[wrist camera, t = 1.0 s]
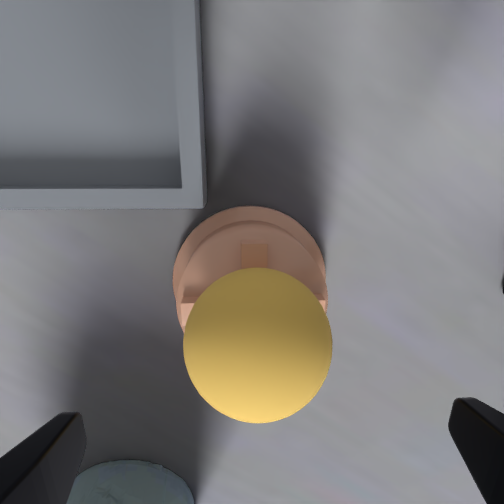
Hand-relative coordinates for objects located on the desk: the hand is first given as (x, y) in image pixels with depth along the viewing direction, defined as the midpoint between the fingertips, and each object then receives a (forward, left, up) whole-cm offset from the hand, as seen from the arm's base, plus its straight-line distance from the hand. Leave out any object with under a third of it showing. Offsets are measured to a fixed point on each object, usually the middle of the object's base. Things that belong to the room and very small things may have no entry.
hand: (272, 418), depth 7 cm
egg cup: (0, 0, -9) cm, 9 cm away
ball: (0, 0, -6) cm, 6 cm away
